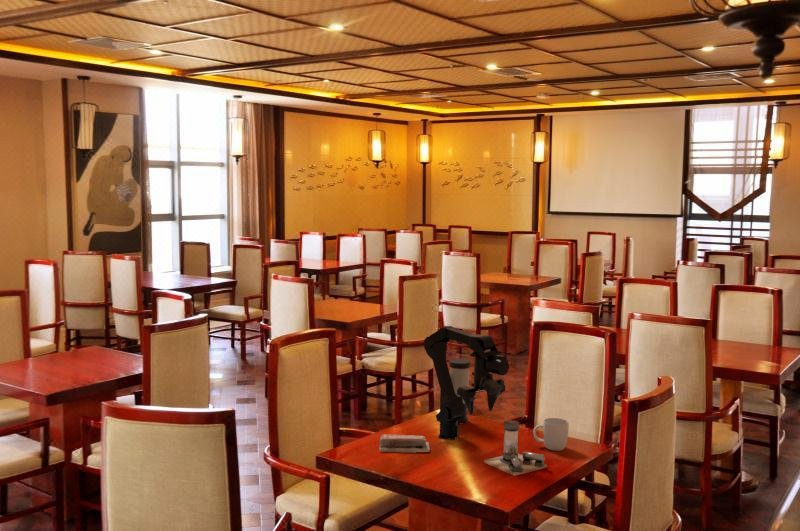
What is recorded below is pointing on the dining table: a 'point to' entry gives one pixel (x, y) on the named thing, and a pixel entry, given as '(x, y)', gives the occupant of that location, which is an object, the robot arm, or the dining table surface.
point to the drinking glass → (510, 439)
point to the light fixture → (459, 380)
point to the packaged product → (403, 443)
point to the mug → (553, 433)
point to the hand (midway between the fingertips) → (480, 412)
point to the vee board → (503, 466)
